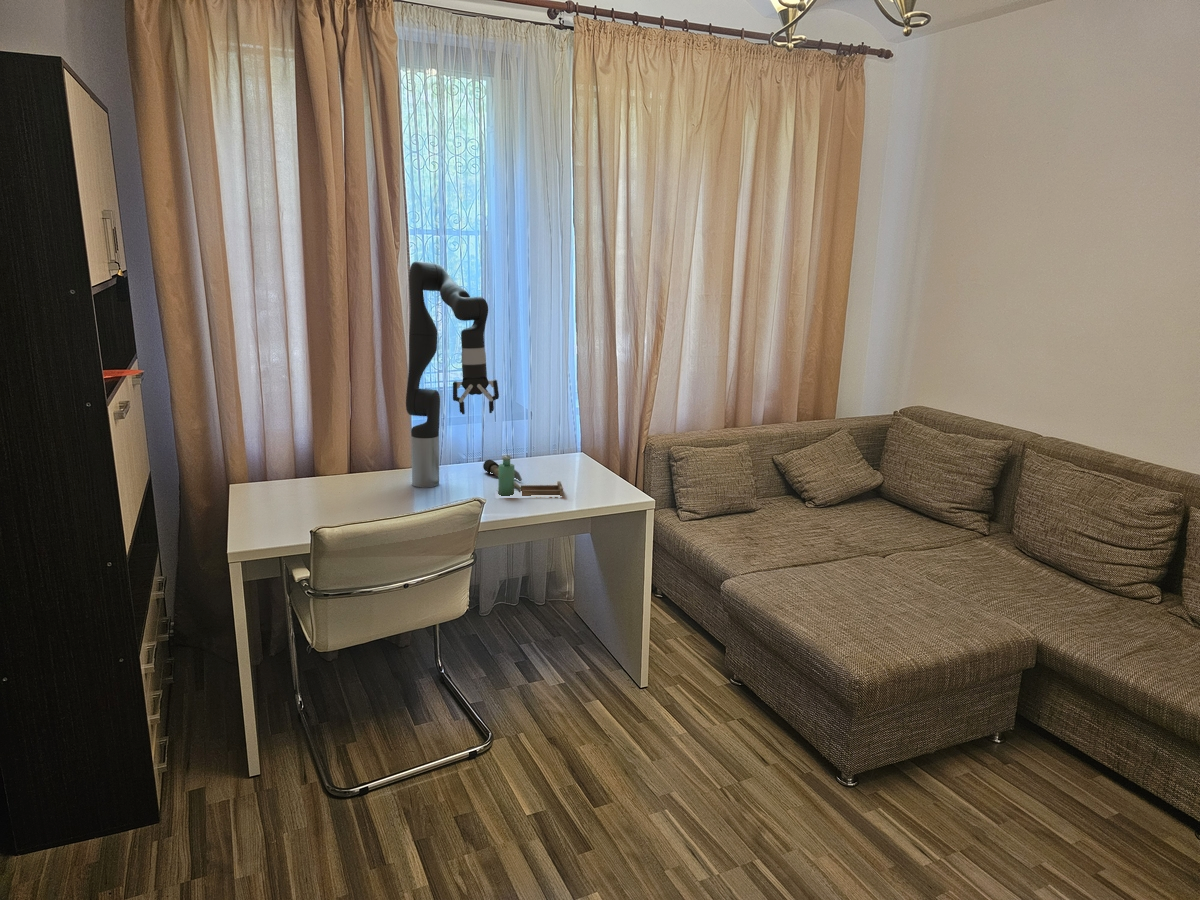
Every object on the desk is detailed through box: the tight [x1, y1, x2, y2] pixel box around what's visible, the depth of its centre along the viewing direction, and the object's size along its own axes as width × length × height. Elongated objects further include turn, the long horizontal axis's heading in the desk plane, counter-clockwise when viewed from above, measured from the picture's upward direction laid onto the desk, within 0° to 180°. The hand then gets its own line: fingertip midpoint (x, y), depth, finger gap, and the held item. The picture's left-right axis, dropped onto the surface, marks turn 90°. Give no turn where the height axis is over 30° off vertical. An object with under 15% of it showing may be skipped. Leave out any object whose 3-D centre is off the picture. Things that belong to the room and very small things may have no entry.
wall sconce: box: [482, 459, 523, 490], centre depth 289 cm, size 5×6×30 cm
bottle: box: [497, 455, 515, 496], centre depth 271 cm, size 5×5×13 cm
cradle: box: [520, 481, 564, 497], centre depth 273 cm, size 9×22×4 cm, turn 99°
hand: (477, 413), depth 259 cm, fingers open, 8 cm apart
